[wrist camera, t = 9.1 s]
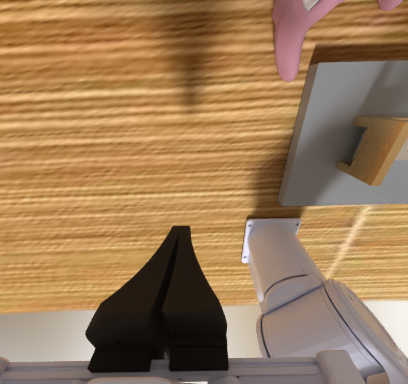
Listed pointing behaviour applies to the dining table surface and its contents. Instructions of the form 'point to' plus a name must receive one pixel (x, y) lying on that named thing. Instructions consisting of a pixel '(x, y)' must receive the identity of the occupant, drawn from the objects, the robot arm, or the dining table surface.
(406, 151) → the silver flat bar
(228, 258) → the dining table surface
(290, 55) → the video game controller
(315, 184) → the base board
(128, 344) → the robot arm
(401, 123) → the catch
